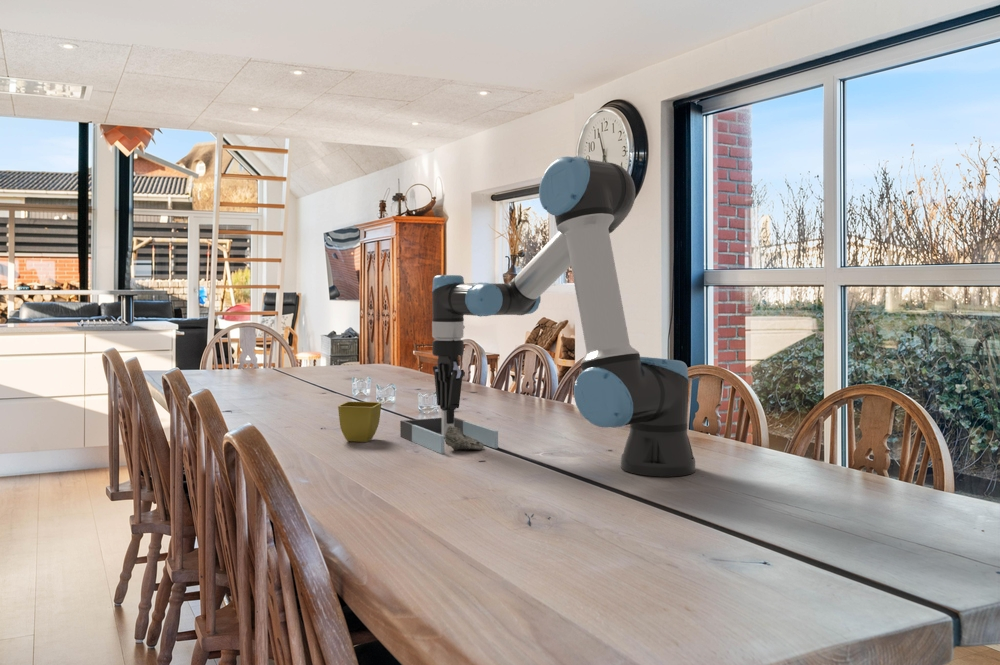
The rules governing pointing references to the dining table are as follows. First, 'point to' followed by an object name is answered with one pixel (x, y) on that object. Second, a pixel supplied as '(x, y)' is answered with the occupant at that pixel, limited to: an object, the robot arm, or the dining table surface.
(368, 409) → the flower pot
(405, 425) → the grey open box
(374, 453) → the dining table surface
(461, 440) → the rock sample
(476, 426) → the strips
